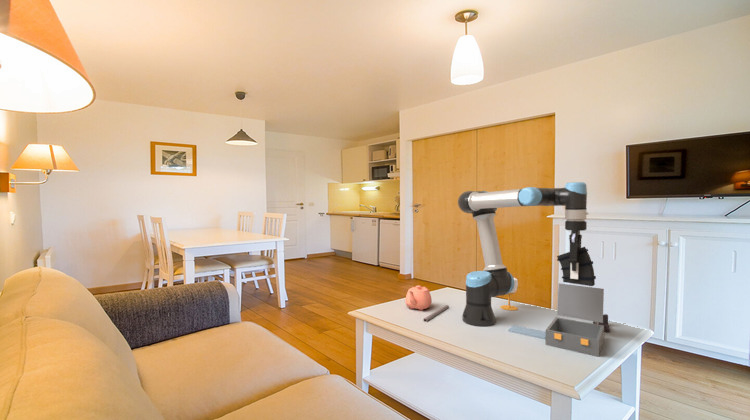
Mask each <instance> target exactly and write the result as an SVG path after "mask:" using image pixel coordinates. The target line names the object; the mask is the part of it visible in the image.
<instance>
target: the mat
mask: <svg viewBox="0 0 750 420" xmlns="http://www.w3.org/2000/svg"><path fill="white" fill-rule="evenodd" d="M507 331H508V332H510V333H514V334H517V335H518V334H519V335H524V336H529V337H532V338H536V339H542V340H546V330H539V329H534V328H531V327H530V328H529V327H524V326H519V325H517V324H516V325H515V324H513V325H512V326H510V328H508V329H507Z"/></svg>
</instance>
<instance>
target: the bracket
mask: <svg viewBox="0 0 750 420" xmlns="http://www.w3.org/2000/svg"><path fill="white" fill-rule="evenodd" d="M592 324H595V322H594V321H592ZM598 325H603V326H604V333H607V334H608V333H610V332H611V328H610V325H609V315H608V314H607V313H603V323H600V322H598Z"/></svg>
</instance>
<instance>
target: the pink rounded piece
mask: <svg viewBox="0 0 750 420" xmlns="http://www.w3.org/2000/svg"><path fill="white" fill-rule="evenodd" d="M404 303H405V305H406V307H408V309H409V310H414V309H418V311H419V312H423V311H424V310H425V309H428V308H429V307H431V305H432V295H431V293H430V290H429V288H427V287H426V286H421V285H415V286H412V287H411V288H409V289H408V291H407V292H406V296H405V301H404Z"/></svg>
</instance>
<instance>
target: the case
mask: <svg viewBox="0 0 750 420" xmlns="http://www.w3.org/2000/svg"><path fill="white" fill-rule="evenodd" d="M545 332H546V338H545V345H546V346H549V347H553V348H558V349H563V350H568V351H571V352H576V353H581V354H585V355H590V356H593V357H597V358H598V357H600V355H601V352H602V347H603V346H604V342H605V332H604V326H603V325H598V322H595V324H593V323H590V322H586V321H579V320H573V319H570V318H562V317H554V318H553V320H552V321H551V322H550V323H549V325H548V326H547V327H546V329H545Z"/></svg>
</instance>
